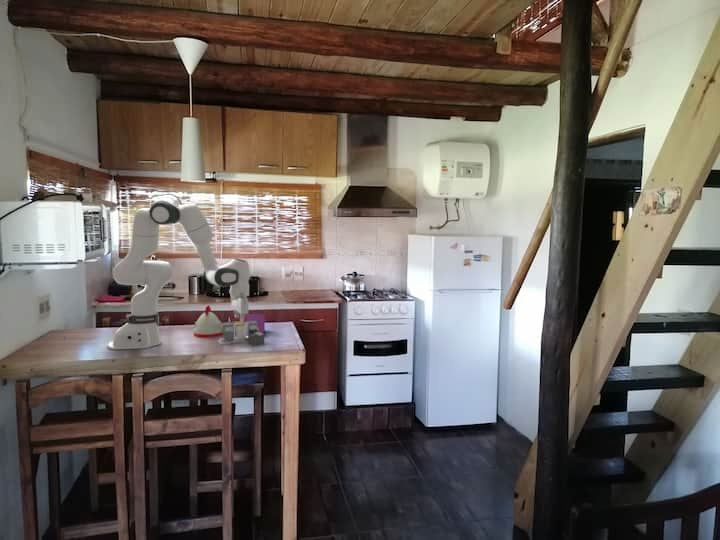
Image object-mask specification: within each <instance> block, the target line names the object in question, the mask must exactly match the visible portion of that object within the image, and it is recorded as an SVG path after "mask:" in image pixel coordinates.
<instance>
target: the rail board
mask: <svg viewBox="0 0 720 540" xmlns="http://www.w3.org/2000/svg"><path fill="white" fill-rule="evenodd" d="M221 325H222V335H221V337H219V339H217V343H218V344H219V345H220V344H221V345H231V343H233V344H243V343H248V334H251V333H254V332H258V323H257V322H256V321H246V320H245V329H246V330H245V338H243V339H236V338H235V325H234V322H221Z"/></svg>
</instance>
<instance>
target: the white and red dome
mask: <svg viewBox="0 0 720 540" xmlns="http://www.w3.org/2000/svg"><path fill="white" fill-rule="evenodd" d="M194 322H195V323H194V326H193V327H194V329H193V336H194V337H196V338H202V337H203V338H204V339H205V338H207V339H208V338H215V337H216V336H217V337H221V336H222V321H221V320H220V319H219V318H218V316H217V315H216V314H215V313H213V312H212V308H211V307H210V305H207V306H206V307H205V309H204V313H202V314H201V315H200V316H199V318H198V319H197V321H194Z"/></svg>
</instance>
